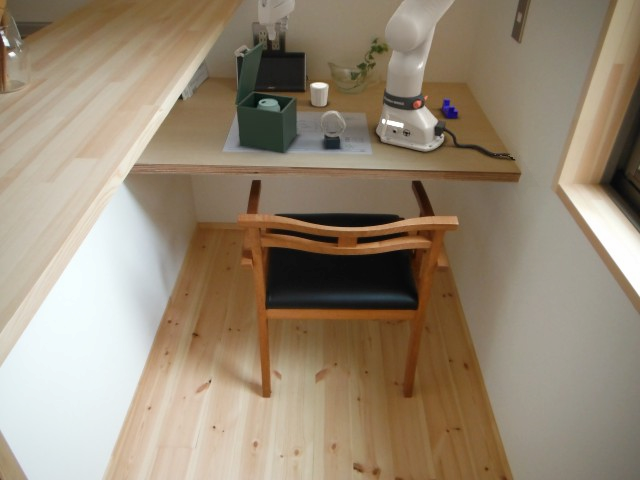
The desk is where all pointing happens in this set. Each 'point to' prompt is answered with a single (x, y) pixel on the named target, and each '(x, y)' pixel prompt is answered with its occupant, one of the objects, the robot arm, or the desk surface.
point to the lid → (248, 70)
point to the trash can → (267, 122)
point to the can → (269, 105)
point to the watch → (332, 137)
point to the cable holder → (449, 109)
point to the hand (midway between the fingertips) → (278, 35)
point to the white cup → (319, 93)
